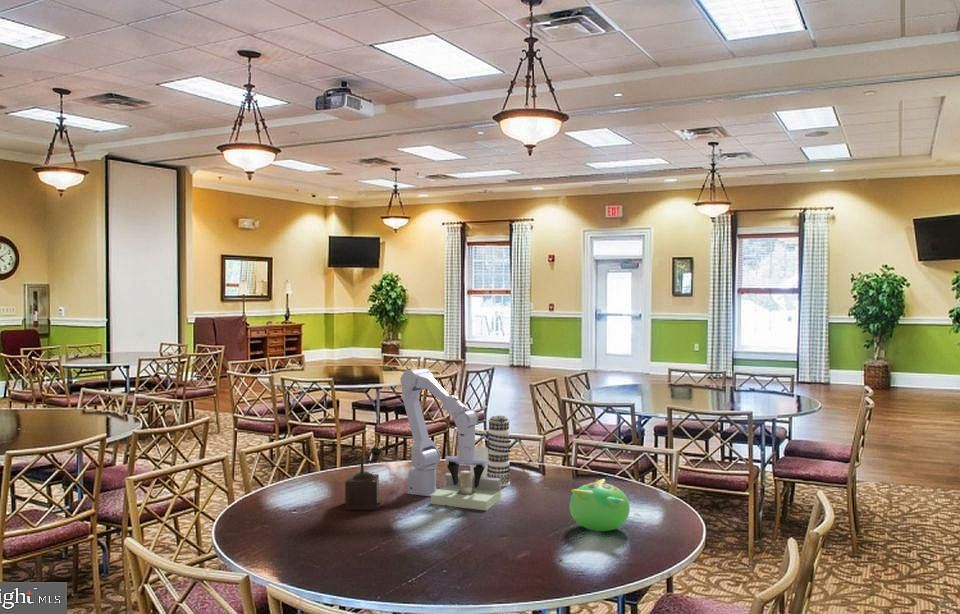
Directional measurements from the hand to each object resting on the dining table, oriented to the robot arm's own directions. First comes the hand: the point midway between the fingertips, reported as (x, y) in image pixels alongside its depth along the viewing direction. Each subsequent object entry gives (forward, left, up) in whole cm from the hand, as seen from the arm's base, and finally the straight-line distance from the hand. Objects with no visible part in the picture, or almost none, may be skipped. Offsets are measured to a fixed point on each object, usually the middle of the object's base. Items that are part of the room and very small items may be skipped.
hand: (466, 485), depth 249 cm
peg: (0, 0, -5) cm, 5 cm away
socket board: (0, 0, -5) cm, 5 cm away
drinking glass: (-1, +15, -6) cm, 16 cm away
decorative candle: (+3, +25, -6) cm, 26 cm away
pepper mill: (-31, -15, -6) cm, 35 cm away
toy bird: (+48, -12, -6) cm, 50 cm away
